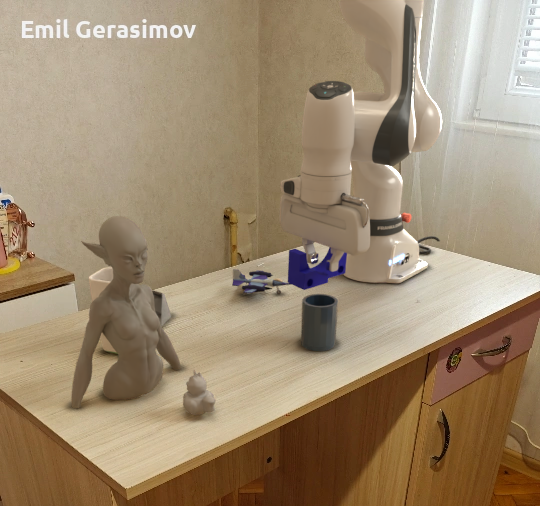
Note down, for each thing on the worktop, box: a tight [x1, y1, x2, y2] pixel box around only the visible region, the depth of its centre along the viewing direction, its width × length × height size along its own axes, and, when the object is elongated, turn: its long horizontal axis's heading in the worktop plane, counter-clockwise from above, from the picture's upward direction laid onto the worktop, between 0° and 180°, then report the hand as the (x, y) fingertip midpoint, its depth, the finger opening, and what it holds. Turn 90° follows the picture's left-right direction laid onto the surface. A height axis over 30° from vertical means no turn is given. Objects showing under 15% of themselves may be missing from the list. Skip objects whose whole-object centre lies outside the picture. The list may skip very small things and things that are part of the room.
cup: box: [88, 266, 118, 355], centre depth 136 cm, size 7×7×15 cm
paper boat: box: [151, 289, 173, 327], centre depth 151 cm, size 12×6×9 cm
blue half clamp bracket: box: [287, 247, 347, 291], centre depth 133 cm, size 12×4×6 cm, turn 130°
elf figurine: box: [70, 215, 182, 409], centre depth 118 cm, size 23×10×30 cm, turn 133°
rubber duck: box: [182, 368, 217, 416], centre depth 118 cm, size 5×7×8 cm
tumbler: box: [300, 293, 339, 352], centre depth 140 cm, size 7×7×9 cm
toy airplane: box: [231, 268, 293, 296], centre depth 164 cm, size 13×14×4 cm
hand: (321, 266), depth 134 cm, fingers closed on blue half clamp bracket, 4 cm apart
